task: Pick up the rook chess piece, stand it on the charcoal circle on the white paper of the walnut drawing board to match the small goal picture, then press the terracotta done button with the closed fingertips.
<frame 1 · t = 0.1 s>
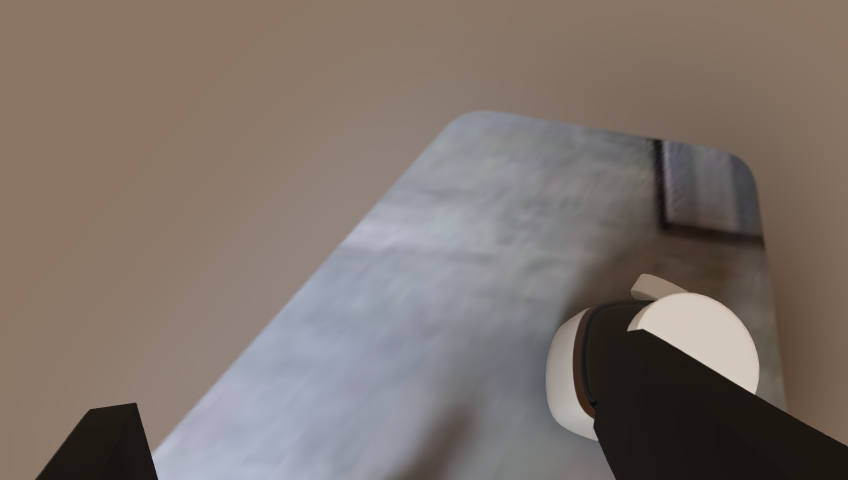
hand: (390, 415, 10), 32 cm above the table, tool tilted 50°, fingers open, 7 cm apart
spread jar: (618, 363, 45), on the table
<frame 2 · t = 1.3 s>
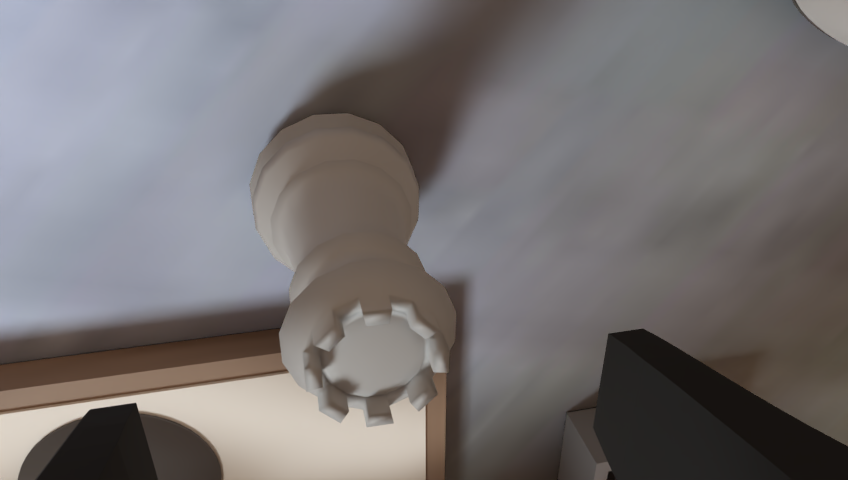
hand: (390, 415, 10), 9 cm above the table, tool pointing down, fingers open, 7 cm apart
rook chess piece: (332, 183, 18), on the table
button housing: (628, 456, 26), on the table
drawing board: (235, 468, 22), on the table
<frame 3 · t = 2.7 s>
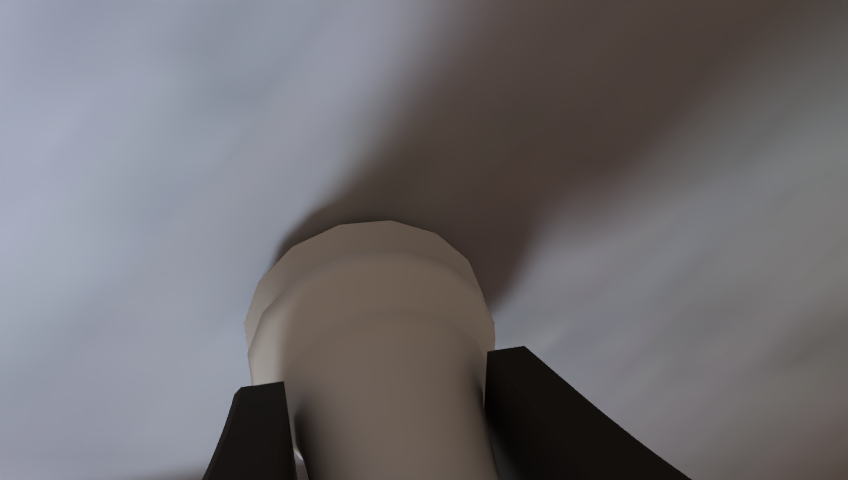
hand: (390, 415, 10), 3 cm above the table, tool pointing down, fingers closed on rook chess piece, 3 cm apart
rook chess piece: (363, 307, 13), on the table, touching gripper
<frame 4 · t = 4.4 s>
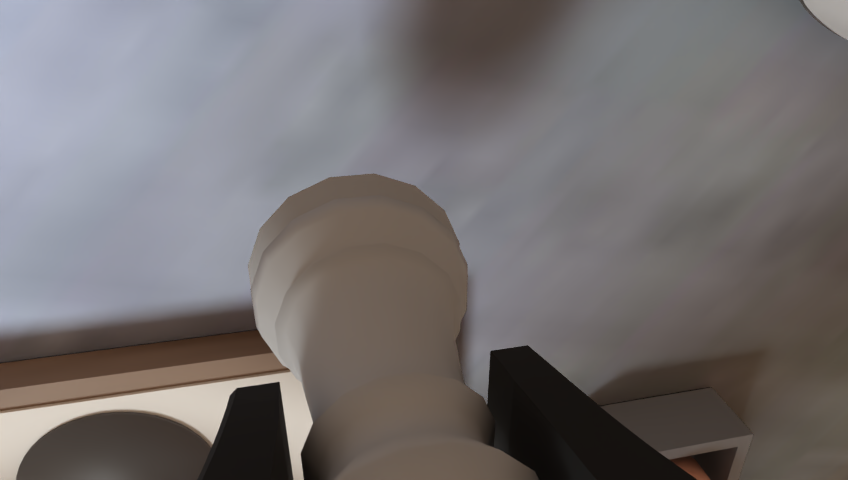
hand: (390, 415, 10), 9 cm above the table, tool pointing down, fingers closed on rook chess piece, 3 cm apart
rook chess piece: (354, 256, 14), point 4 cm above the table, touching gripper
button housing: (629, 455, 26), on the table
drawing board: (235, 467, 22), on the table
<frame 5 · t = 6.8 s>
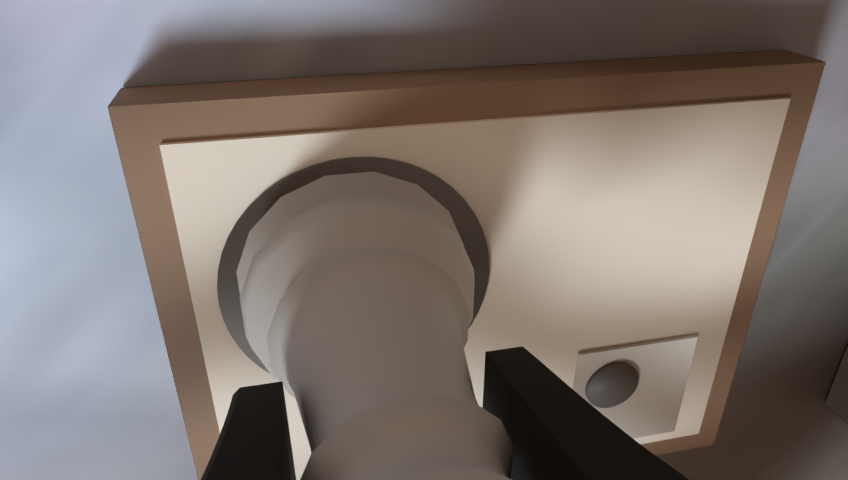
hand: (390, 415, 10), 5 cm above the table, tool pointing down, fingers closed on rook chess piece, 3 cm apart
rook chess piece: (350, 260, 13), point 1 cm above the table, touching drawing board, gripper
drawing board: (476, 293, 16), on the table
when the fingers open (5 cm above the table, at t = 7.0 s): rook chess piece stays where it is, resting on drawing board.
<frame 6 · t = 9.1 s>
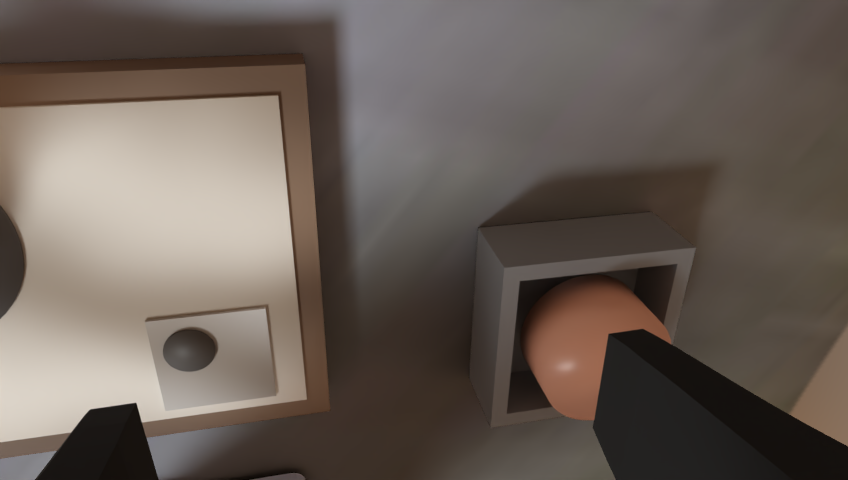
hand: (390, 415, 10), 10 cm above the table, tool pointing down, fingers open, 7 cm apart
button housing: (557, 297, 22), on the table
drawing board: (58, 266, 18), on the table
done button: (593, 347, 20), point 3 cm above the table, slide at 0.0 cm
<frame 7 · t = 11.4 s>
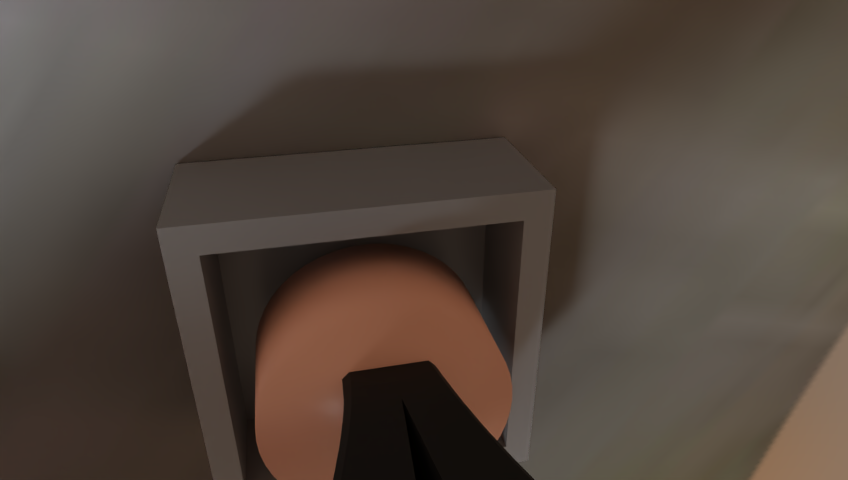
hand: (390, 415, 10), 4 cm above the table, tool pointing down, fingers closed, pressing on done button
button housing: (356, 288, 13), on the table
done button: (378, 376, 11), point 3 cm above the table, slide at 0.0 cm, touching gripper
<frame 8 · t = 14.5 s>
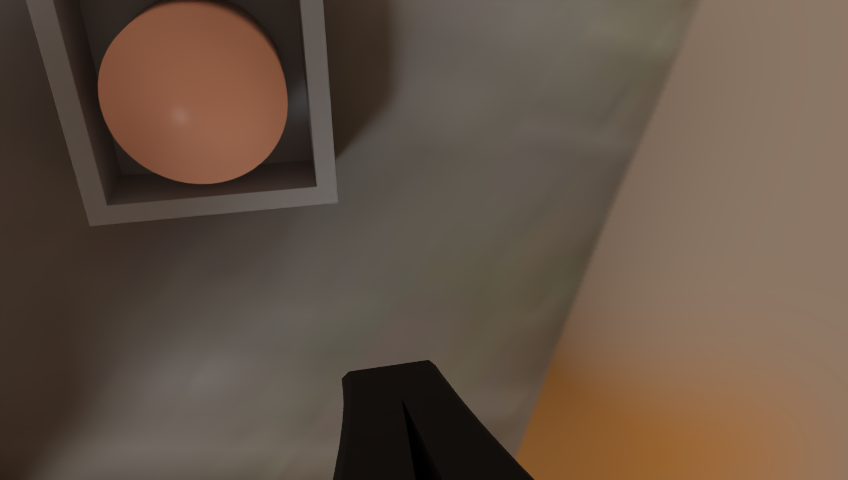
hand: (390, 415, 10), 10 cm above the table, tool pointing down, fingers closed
button housing: (205, 70, 17), on the table
done button: (199, 89, 15), point 2 cm above the table, slide at 0.9 cm
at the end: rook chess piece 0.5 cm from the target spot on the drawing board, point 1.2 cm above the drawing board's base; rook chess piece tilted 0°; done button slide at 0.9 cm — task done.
